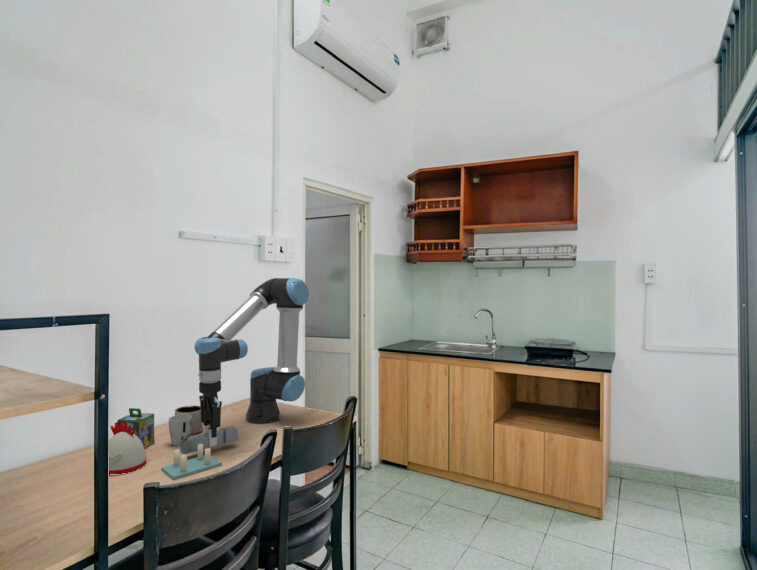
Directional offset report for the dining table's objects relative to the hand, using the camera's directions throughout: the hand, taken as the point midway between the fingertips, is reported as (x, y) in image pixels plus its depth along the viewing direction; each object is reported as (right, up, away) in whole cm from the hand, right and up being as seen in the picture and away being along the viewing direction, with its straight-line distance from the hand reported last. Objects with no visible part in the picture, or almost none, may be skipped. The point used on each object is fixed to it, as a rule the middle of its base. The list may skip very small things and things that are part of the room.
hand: (210, 444), depth 161 cm
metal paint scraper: (0, -1, 0) cm, 1 cm away
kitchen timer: (-24, -3, -14) cm, 28 cm away
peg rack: (-1, -3, -14) cm, 14 cm away
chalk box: (-29, -3, +4) cm, 30 cm away
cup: (-15, -3, +8) cm, 17 cm away
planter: (-17, -3, +21) cm, 27 cm away
